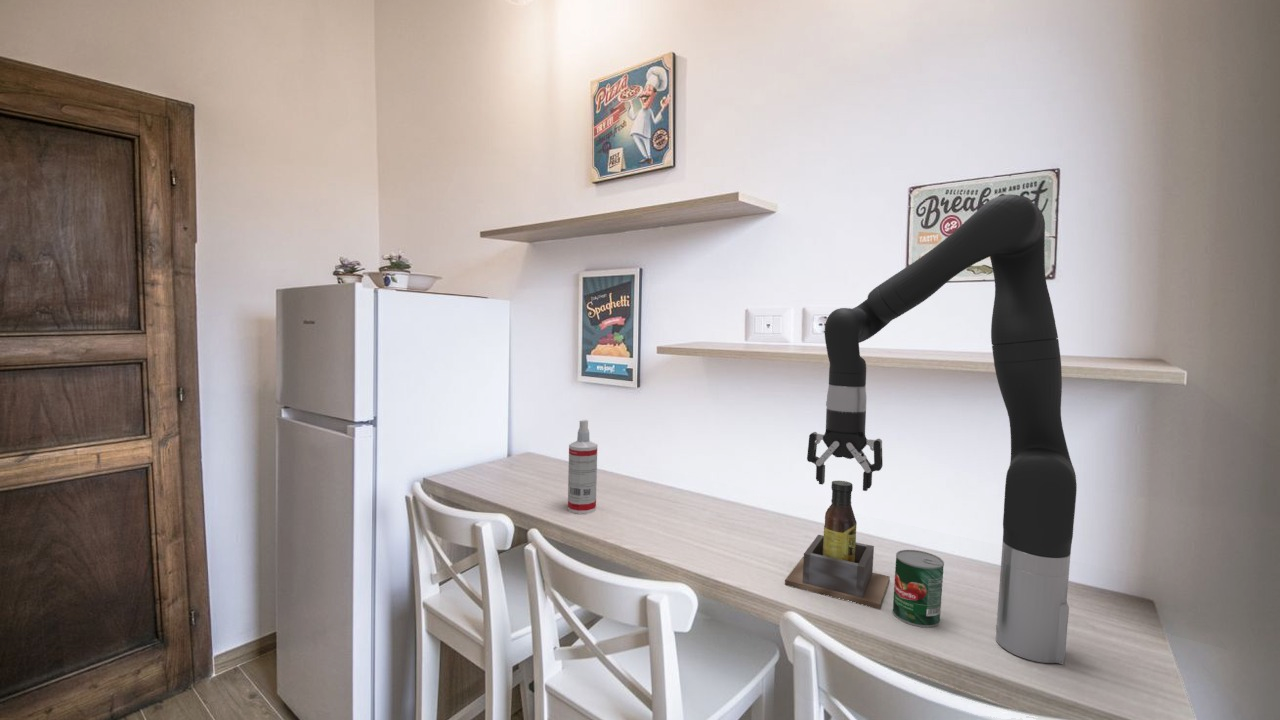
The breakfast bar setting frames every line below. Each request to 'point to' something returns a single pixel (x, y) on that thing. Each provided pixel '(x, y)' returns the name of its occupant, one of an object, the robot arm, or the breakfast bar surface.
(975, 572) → the breakfast bar surface
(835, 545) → the sauce bottle
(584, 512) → the spray bottle
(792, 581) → the bottle holder
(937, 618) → the canned tomato
